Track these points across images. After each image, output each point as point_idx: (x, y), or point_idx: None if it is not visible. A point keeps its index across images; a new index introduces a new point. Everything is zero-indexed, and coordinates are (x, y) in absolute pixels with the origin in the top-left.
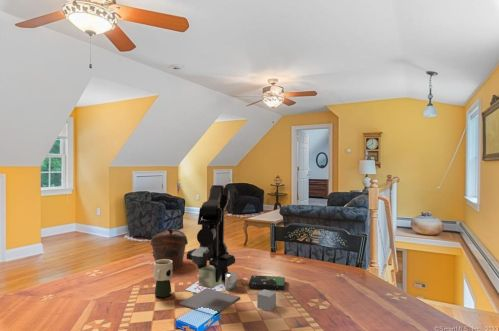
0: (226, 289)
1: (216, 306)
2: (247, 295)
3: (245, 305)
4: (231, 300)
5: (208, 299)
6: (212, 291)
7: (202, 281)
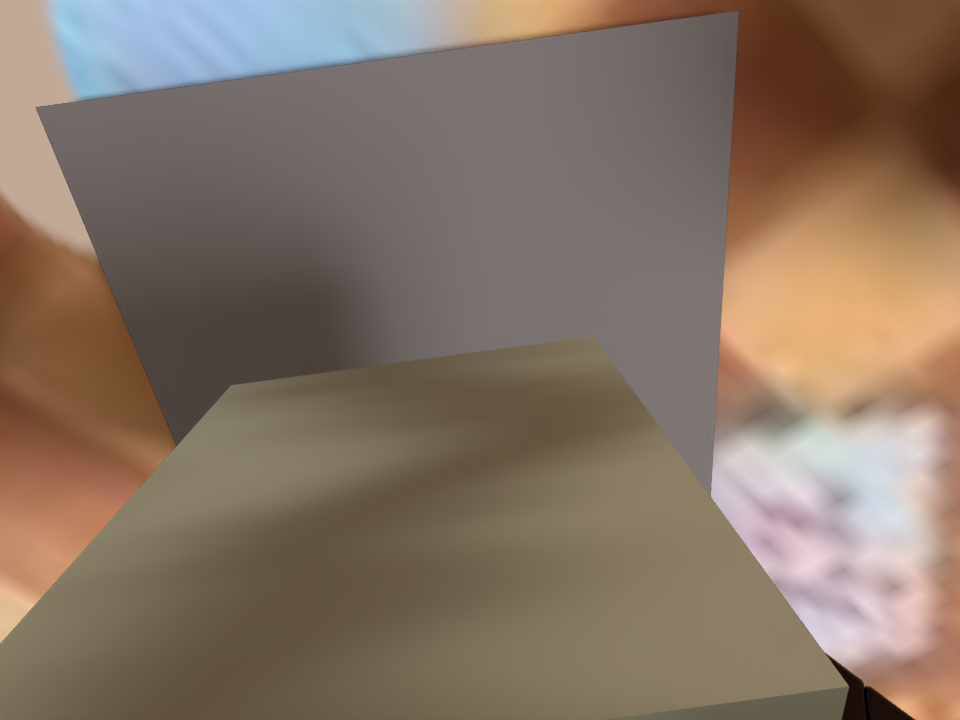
0: None
1: (221, 294)
2: None
3: (68, 532)
4: None
5: None
6: None
7: (492, 401)
